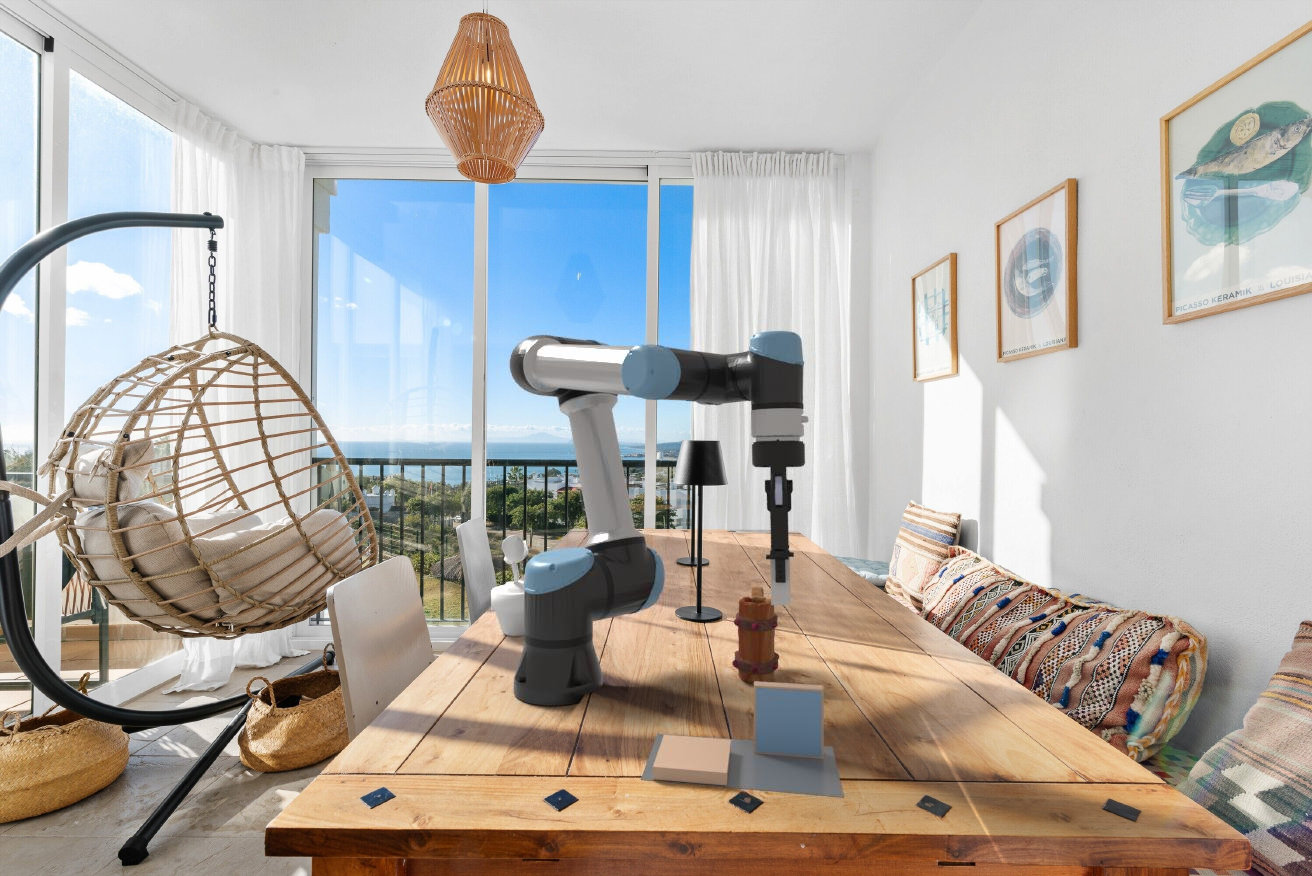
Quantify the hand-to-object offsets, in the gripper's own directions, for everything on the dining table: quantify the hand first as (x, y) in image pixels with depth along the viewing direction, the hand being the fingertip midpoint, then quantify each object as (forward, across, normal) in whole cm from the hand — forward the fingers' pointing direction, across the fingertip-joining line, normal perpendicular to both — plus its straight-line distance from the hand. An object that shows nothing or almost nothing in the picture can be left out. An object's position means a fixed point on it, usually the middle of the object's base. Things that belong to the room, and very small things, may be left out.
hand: (780, 604), depth 95 cm
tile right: (+18, -7, -1) cm, 19 cm away
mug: (+19, +26, +5) cm, 33 cm away
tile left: (+17, -8, +11) cm, 22 cm away
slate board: (+19, -11, +5) cm, 23 cm away
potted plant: (+18, +43, +58) cm, 74 cm away
